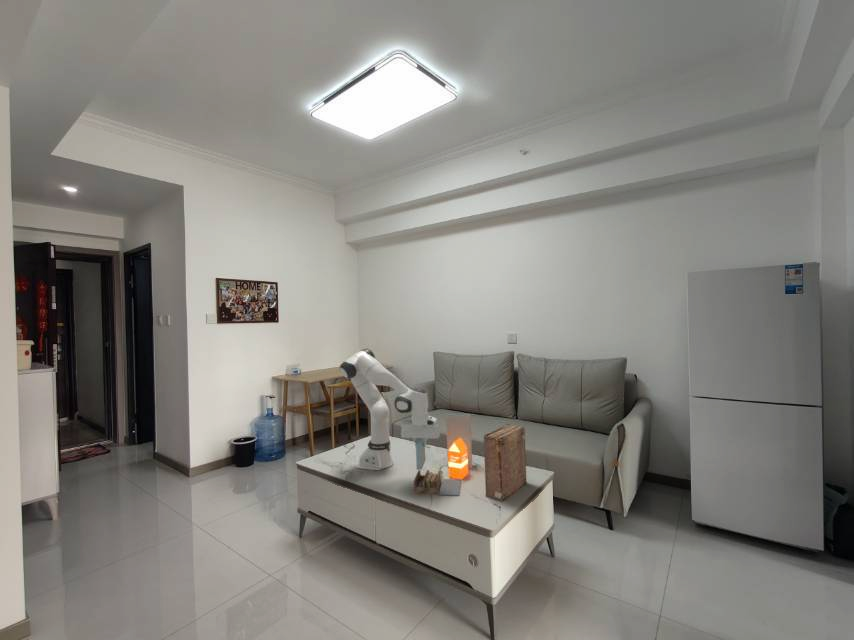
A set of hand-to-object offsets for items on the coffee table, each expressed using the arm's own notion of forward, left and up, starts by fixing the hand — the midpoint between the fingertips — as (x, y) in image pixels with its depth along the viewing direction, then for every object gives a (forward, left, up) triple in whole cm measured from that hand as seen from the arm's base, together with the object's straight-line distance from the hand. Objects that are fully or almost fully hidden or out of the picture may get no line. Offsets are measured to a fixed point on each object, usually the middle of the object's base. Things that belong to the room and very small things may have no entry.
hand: (420, 446), depth 205 cm
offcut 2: (+6, 0, -21) cm, 22 cm away
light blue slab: (0, 0, -10) cm, 10 cm away
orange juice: (+18, +16, -22) cm, 32 cm away
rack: (+3, 0, -21) cm, 22 cm away
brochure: (+18, +29, -22) cm, 40 cm away
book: (+44, 0, -22) cm, 49 cm away
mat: (+15, 0, -21) cm, 26 cm away
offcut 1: (+4, 0, -21) cm, 22 cm away
